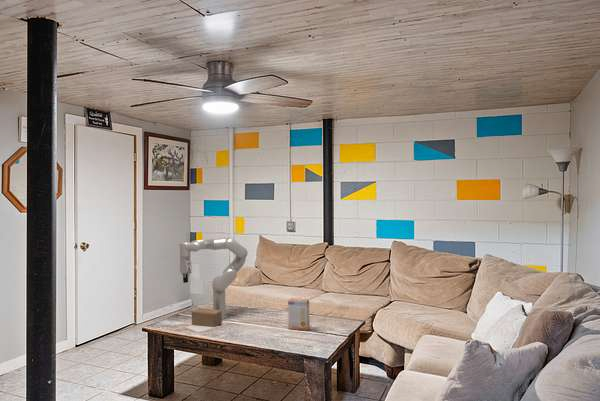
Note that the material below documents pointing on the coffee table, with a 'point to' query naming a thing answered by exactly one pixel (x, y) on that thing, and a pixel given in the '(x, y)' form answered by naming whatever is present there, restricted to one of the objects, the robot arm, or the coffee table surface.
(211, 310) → the wooden block
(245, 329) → the coffee table surface
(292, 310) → the cracker box
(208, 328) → the mat
